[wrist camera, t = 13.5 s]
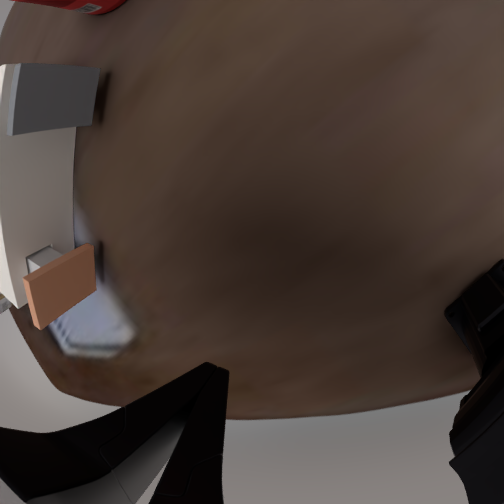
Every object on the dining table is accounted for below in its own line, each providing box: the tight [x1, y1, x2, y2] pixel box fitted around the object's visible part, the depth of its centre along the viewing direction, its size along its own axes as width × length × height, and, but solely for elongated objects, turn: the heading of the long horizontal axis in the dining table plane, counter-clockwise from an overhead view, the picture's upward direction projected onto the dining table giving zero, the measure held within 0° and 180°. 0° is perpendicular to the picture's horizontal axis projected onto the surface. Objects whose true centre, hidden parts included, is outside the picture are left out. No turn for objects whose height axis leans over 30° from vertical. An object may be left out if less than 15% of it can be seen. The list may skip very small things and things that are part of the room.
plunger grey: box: [7, 63, 101, 136], centre depth 17 cm, size 14×5×8 cm, turn 78°
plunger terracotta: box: [23, 243, 96, 330], centre depth 24 cm, size 14×5×8 cm, turn 78°
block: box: [0, 64, 76, 309], centre depth 22 cm, size 12×22×9 cm, turn 168°
